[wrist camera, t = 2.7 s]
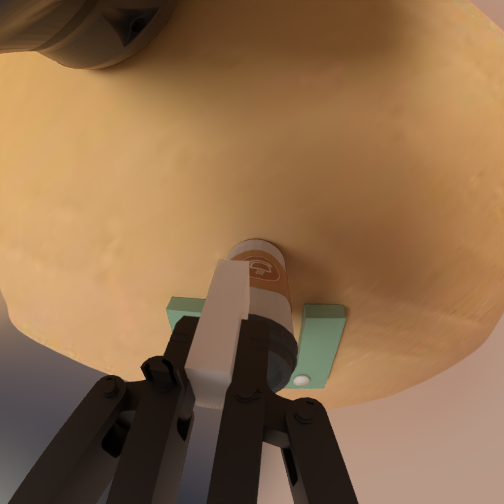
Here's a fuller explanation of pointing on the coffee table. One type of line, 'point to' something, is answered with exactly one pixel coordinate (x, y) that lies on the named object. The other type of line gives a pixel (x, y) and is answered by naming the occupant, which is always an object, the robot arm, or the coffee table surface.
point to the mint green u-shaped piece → (310, 341)
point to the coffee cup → (270, 306)
